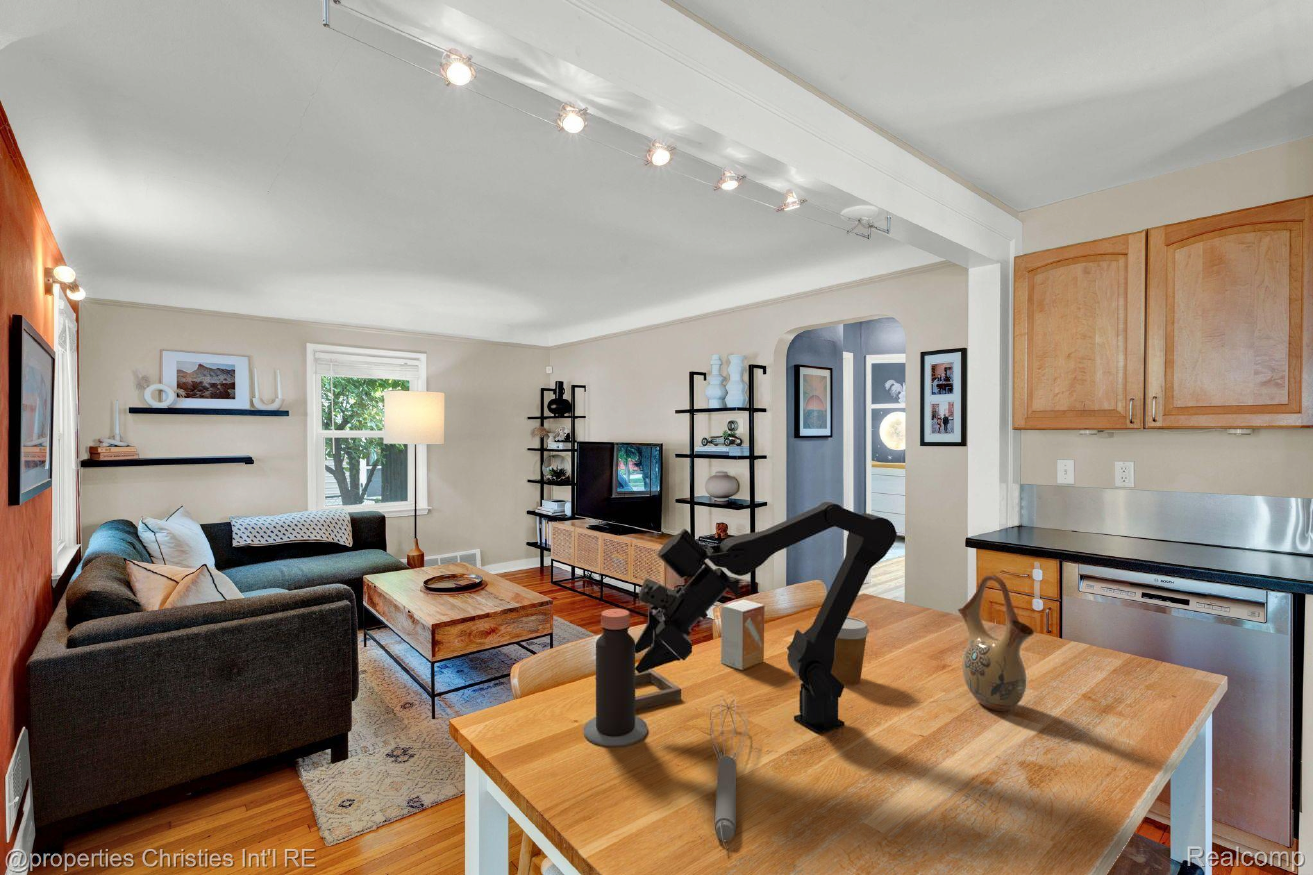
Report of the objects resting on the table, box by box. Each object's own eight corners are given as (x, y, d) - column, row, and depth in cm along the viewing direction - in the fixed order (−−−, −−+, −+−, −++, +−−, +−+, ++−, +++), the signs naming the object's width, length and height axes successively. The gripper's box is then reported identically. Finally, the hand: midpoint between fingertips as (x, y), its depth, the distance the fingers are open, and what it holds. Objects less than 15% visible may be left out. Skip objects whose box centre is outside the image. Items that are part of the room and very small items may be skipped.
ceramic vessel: (1049, 721, 112) (1051, 583, 112) (1010, 728, 109) (1011, 586, 109) (978, 686, 127) (979, 564, 127) (941, 691, 125) (943, 567, 125)
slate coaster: (658, 736, 106) (658, 733, 106) (599, 753, 100) (599, 749, 100) (629, 711, 115) (629, 708, 115) (573, 724, 110) (573, 721, 110)
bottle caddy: (681, 699, 121) (681, 688, 121) (628, 712, 115) (628, 701, 115) (652, 678, 131) (652, 669, 131) (603, 689, 125) (603, 679, 125)
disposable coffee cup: (862, 671, 135) (863, 616, 135) (873, 689, 126) (874, 630, 126) (817, 669, 136) (818, 614, 136) (825, 687, 127) (825, 628, 126)
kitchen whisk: (700, 852, 77) (700, 802, 77) (711, 726, 110) (711, 691, 110) (750, 857, 76) (750, 806, 76) (745, 728, 110) (746, 693, 110)
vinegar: (628, 739, 103) (628, 619, 103) (590, 734, 105) (590, 616, 105) (639, 720, 110) (639, 608, 110) (603, 716, 112) (603, 605, 111)
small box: (742, 671, 135) (742, 611, 135) (720, 663, 140) (720, 605, 139) (764, 661, 141) (765, 604, 140) (742, 654, 145) (743, 598, 145)
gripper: (661, 553, 118) (602, 613, 117) (671, 576, 99) (602, 647, 98) (702, 594, 118) (644, 653, 117) (720, 624, 100) (652, 695, 99)
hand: (635, 660), depth 108 cm, fingers open, 9 cm apart
